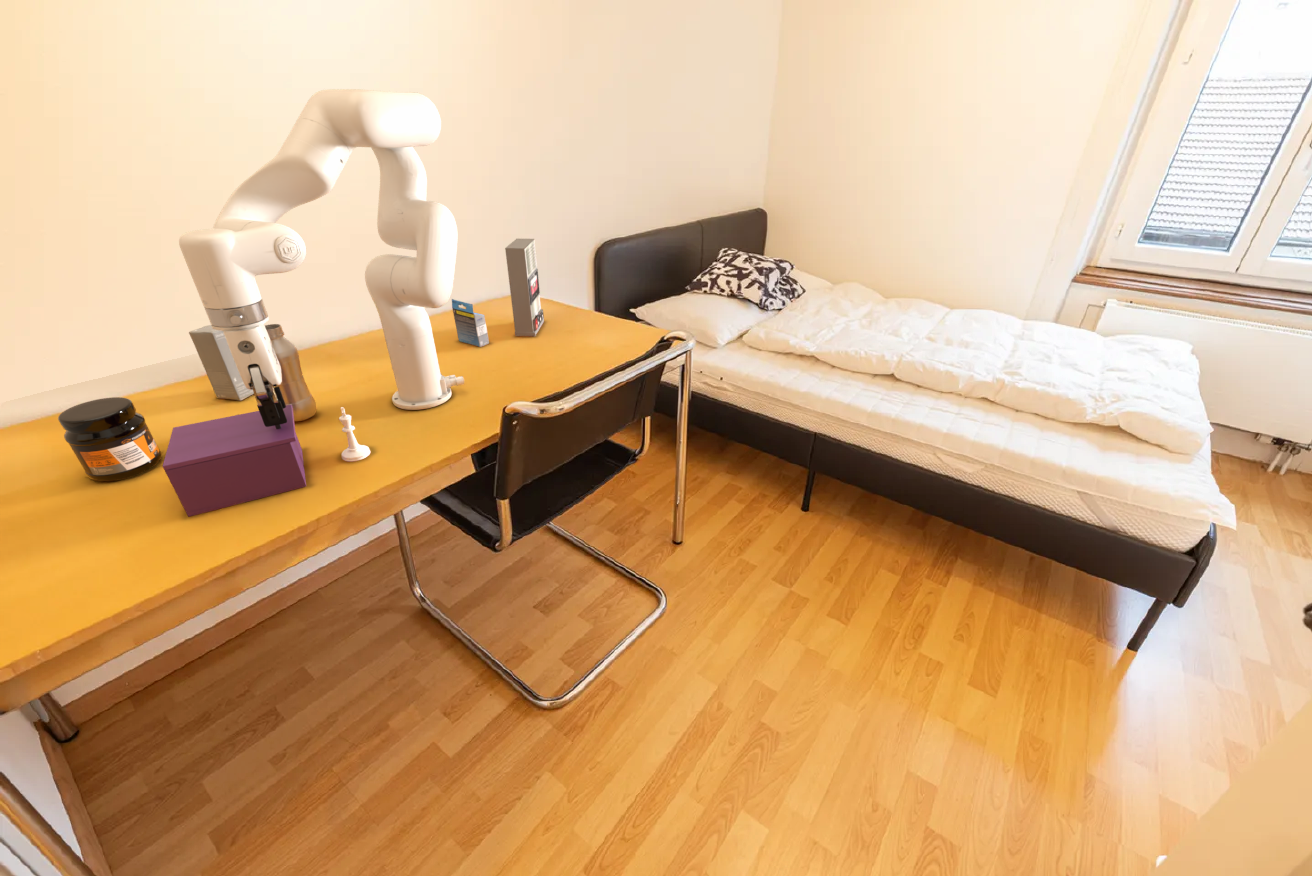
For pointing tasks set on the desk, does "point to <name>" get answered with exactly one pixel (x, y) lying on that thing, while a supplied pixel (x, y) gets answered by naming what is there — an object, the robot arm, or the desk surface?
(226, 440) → the lid
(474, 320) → the label tape box
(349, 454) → the chess piece
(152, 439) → the supplement container
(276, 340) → the plastic bottle
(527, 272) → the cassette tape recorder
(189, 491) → the box
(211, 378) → the cosmetic box
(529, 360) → the desk surface
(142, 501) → the desk surface
